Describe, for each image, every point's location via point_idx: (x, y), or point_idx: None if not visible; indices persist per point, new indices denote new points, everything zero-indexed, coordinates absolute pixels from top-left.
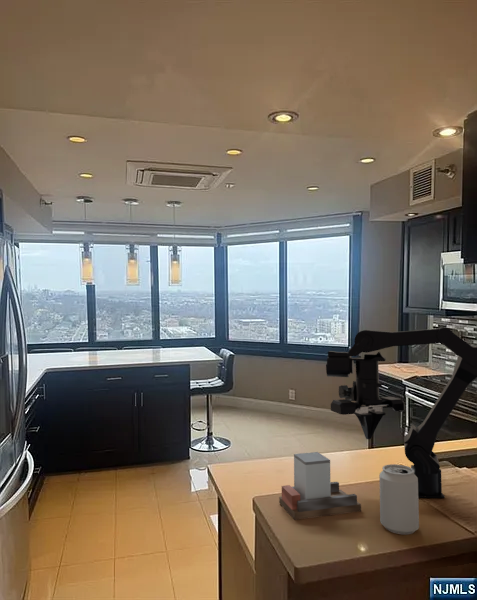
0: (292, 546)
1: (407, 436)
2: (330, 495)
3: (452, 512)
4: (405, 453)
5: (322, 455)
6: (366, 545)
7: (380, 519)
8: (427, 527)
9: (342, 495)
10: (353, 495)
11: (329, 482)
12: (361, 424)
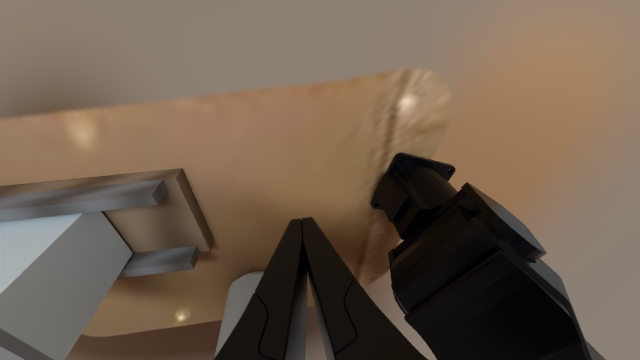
0: None
1: (471, 302)
2: (121, 270)
3: (381, 254)
4: (393, 276)
5: (9, 352)
6: (189, 313)
7: (228, 291)
8: None
9: (156, 267)
10: (185, 268)
11: (99, 301)
12: (250, 314)
